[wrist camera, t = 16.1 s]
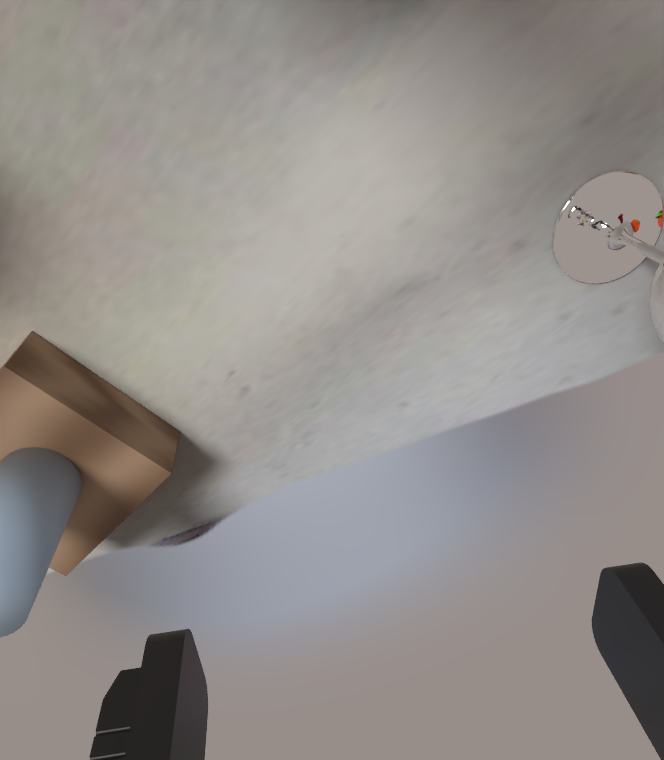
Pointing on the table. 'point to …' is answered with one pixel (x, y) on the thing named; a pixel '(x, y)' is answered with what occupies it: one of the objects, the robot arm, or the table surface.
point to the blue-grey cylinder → (31, 525)
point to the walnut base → (84, 440)
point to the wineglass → (612, 233)
